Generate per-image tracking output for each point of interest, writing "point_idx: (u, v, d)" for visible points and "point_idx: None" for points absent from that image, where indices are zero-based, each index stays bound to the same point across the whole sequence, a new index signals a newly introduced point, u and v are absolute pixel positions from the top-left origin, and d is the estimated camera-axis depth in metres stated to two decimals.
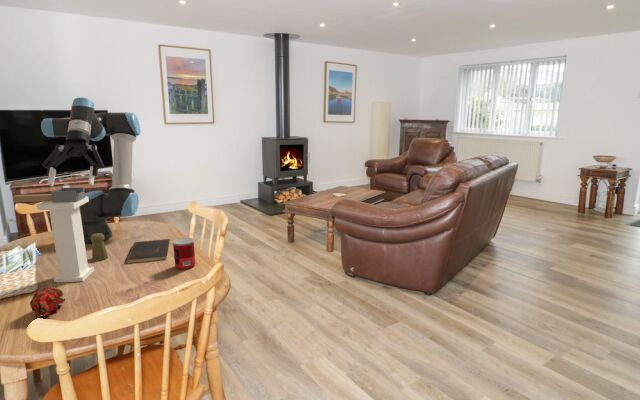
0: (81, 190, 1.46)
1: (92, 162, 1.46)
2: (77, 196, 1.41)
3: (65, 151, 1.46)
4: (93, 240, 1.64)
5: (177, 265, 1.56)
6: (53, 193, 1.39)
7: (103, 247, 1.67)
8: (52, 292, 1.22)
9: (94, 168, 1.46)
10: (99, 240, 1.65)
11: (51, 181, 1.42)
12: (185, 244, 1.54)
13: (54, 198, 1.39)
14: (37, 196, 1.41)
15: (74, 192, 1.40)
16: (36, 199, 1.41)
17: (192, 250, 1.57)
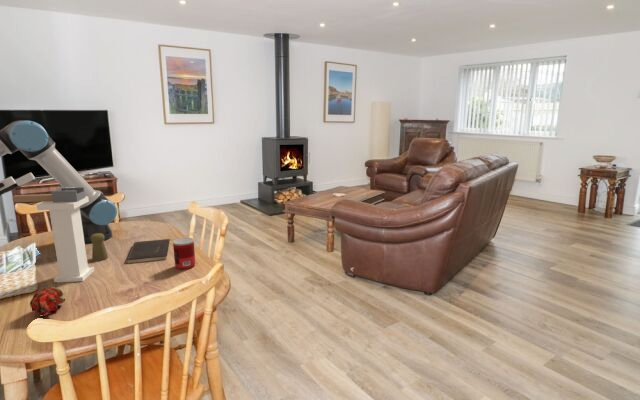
0: (81, 190, 1.46)
1: None
2: (78, 196, 1.42)
3: None
4: (93, 240, 1.64)
5: (177, 265, 1.56)
6: (54, 193, 1.39)
7: (103, 247, 1.67)
8: (52, 292, 1.22)
9: None
10: (99, 240, 1.65)
11: (29, 177, 1.53)
12: (185, 244, 1.54)
13: (54, 198, 1.40)
14: (37, 196, 1.41)
15: (75, 192, 1.40)
16: (36, 199, 1.41)
17: (192, 250, 1.57)
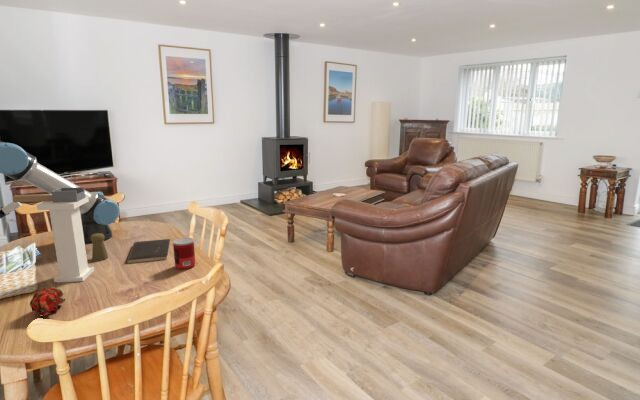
0: (81, 190, 1.46)
1: None
2: (78, 196, 1.42)
3: None
4: (93, 240, 1.64)
5: (177, 265, 1.56)
6: (54, 193, 1.39)
7: (103, 247, 1.67)
8: (52, 292, 1.22)
9: None
10: (99, 240, 1.65)
11: (16, 205, 1.47)
12: (185, 244, 1.54)
13: (54, 198, 1.40)
14: (37, 196, 1.41)
15: (75, 192, 1.40)
16: (36, 199, 1.41)
17: (192, 250, 1.57)
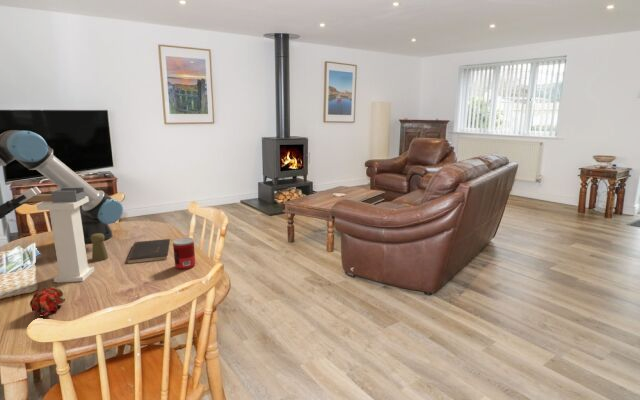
0: (81, 190, 1.46)
1: (14, 206, 1.39)
2: (77, 196, 1.41)
3: None
4: (93, 240, 1.64)
5: (177, 265, 1.56)
6: (54, 193, 1.39)
7: (103, 247, 1.67)
8: (52, 292, 1.22)
9: (19, 201, 1.39)
10: (99, 240, 1.65)
11: (35, 192, 1.42)
12: (185, 244, 1.54)
13: (54, 198, 1.39)
14: (37, 196, 1.41)
15: (74, 192, 1.40)
16: (36, 199, 1.41)
17: (192, 250, 1.57)
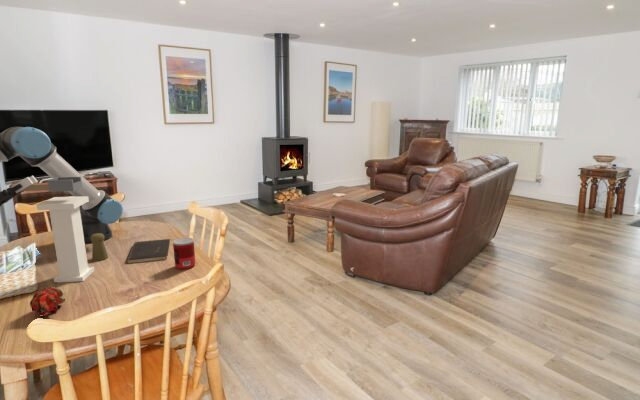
0: (78, 179, 1.45)
1: (10, 195, 1.38)
2: (74, 185, 1.40)
3: (3, 203, 1.42)
4: (93, 240, 1.64)
5: (177, 265, 1.56)
6: (50, 182, 1.38)
7: (103, 247, 1.67)
8: (52, 292, 1.22)
9: (15, 190, 1.38)
10: (99, 240, 1.65)
11: (32, 181, 1.41)
12: (185, 244, 1.54)
13: (50, 187, 1.38)
14: (34, 185, 1.40)
15: (71, 181, 1.39)
16: (33, 188, 1.40)
17: (192, 250, 1.57)
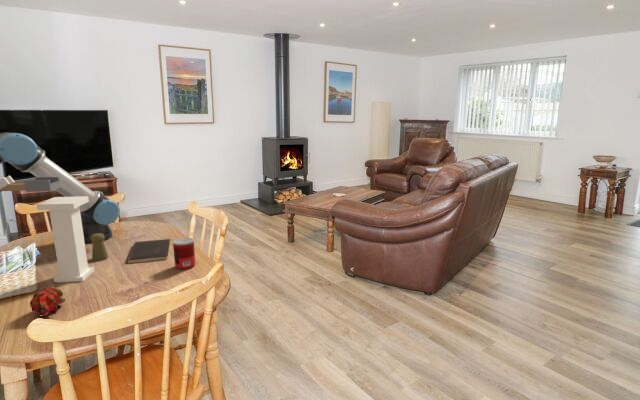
0: (56, 179, 1.44)
1: None
2: (51, 185, 1.39)
3: None
4: (93, 240, 1.64)
5: (177, 265, 1.56)
6: (27, 182, 1.37)
7: (103, 247, 1.67)
8: (52, 292, 1.22)
9: None
10: (99, 240, 1.65)
11: (9, 181, 1.40)
12: (185, 244, 1.54)
13: (27, 187, 1.37)
14: (10, 185, 1.38)
15: (48, 181, 1.38)
16: (9, 188, 1.38)
17: (192, 250, 1.57)
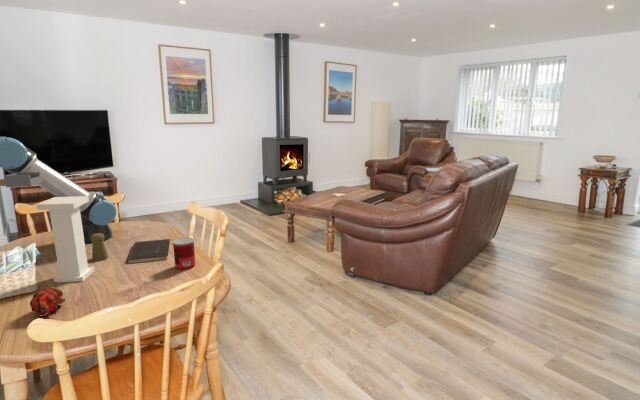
0: (37, 175, 1.43)
1: None
2: (32, 180, 1.39)
3: None
4: (93, 240, 1.64)
5: (177, 265, 1.56)
6: (7, 178, 1.36)
7: (103, 247, 1.67)
8: (52, 292, 1.22)
9: None
10: (99, 240, 1.65)
11: None
12: (185, 244, 1.54)
13: (7, 183, 1.37)
14: None
15: (28, 176, 1.37)
16: None
17: (192, 250, 1.57)
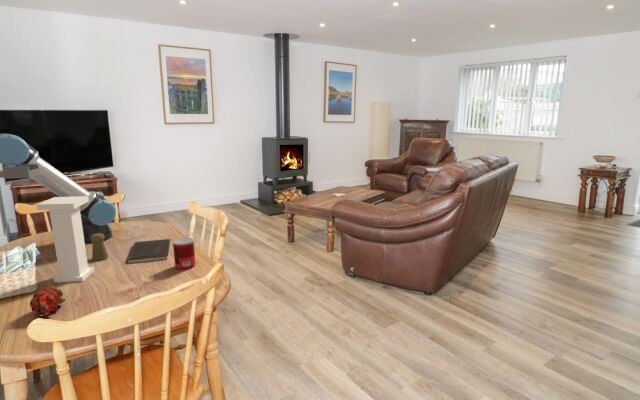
0: (36, 167, 1.43)
1: None
2: (30, 172, 1.38)
3: None
4: (93, 240, 1.64)
5: (177, 265, 1.56)
6: (5, 169, 1.36)
7: (103, 247, 1.67)
8: (52, 292, 1.22)
9: None
10: (99, 240, 1.65)
11: None
12: (185, 244, 1.54)
13: (5, 174, 1.36)
14: None
15: (26, 168, 1.37)
16: None
17: (192, 250, 1.57)
